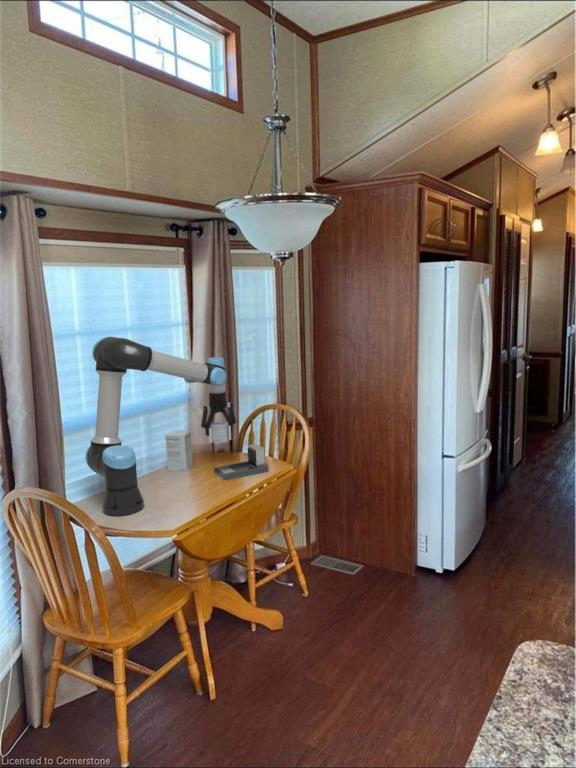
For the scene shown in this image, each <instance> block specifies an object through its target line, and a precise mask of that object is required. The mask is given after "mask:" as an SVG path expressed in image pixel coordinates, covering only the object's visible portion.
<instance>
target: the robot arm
mask: <svg viewBox="0 0 576 768" xmlns="http://www.w3.org/2000/svg"><path fill="white" fill-rule="evenodd" d="M92 357H93V360H94V361H95V372H96V373H97V374H98V375H99V376H98V389H97V390H98V391H97V392H98V394H97V403H96V405H97V406H96V407H97V408H96V422H95V433H94V434H95V435H94V437H93V438H91V440H90V446H89V447H88V448H87V450H86V452H85V457H84V458H85V463H86V465H87V466H88V468H90V470H92V472H94V473H96V474H99V475H100V476H102V477H104V484H105V495H104V498H103V503H102V512H103V514H104V515H106V516H111V517H123V516H129V515H132V514H135V513H138V512H139V511H142V510H143V509H144V507H145V500H144V497H143V496H142V493H141V491H140V488H139V485H138V473H137V472H138V471H137V458H136V457H137V456H136V454H135V450H134V449H133V448H132V447H130V446H128V445H122V440H121V438H120V437H119V430H120V429H119V428H120V417H121V416H120V414H121V401H122V400H121V399H122V384H123V376H124V375H126V374H127V372H128V370H132V371H133V370H134V371H140V372H146V371H152V372H156V373H160V374H164V375H168V376H174V377H177V378H182V379H183V380H184V381H185V383H186V384H194V383H200V384H206V385H208V392H209V393H208V399H209V401H208V404H207V405H202V410H203V411H202V417H201V424H200V426H201V428H203V429H204V430H205V435H206V436H207V442H208V443H210V444H212V443H213V442H212V439H211V429H210V428H209V427H210V425H211V422H213V419H214V417H215V415H216V414H218V413H222V415H223V417H224V419H225V422H228V431H229V440H228V441H231V440H232V433H233V426H234V424H236V423H237V419H236V416H235V412H234V408H233V406H234V403H233V402H227V395H226V394H227V393H226V389H227V388H226V381H227V378H228V377H227V372H226V371H225V370H226V366H225V360H224V358H223V357H213V356H212V357H209V358H207V359H206V360H207V361H206V363H200V362H197V361H193V360H190V359H187V358H182V357H179V356H178V357H177V356H174V355H171V354H167V353H164V352H158V351H156V350H153V348H152V347H150V346H146V345H144V344H141V343H138V342H135V341H134V340H132V339H131V340H130V339H129V338H125V337H117V336H116V337H115V336H106V337H102V338H100V339H99V340H97V341H96V342H95V344H94V345H93V347H92ZM226 407H227V408H228V412H227V410H226ZM209 409H210V412H209ZM208 413H209V415H208ZM228 413H229V415H228Z"/></svg>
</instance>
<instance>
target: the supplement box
mask: <svg viewBox="0 0 576 768" xmlns="http://www.w3.org/2000/svg"><path fill="white" fill-rule="evenodd" d="M191 433H192V432H191V430H190V429H189V430H186V429H184V430H183V429H182V430H179V429H175V430H174V429H173V430H171V431H170V432H168V433H167V434H166V435H164V437H165V439H164V440H165V449H166V460H167V461H166V463H167V471H169V472H172V471H173V472H175V471H178V472H187V471H188V470H190V468H191V467H192V466H193V465H194V464H193V463H194V462H193V461H194V460H193V449H192V434H191ZM186 470H187V471H186Z"/></svg>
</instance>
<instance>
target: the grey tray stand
mask: <svg viewBox="0 0 576 768" xmlns="http://www.w3.org/2000/svg"><path fill="white" fill-rule="evenodd" d="M247 446H248V447H247V459H248V460H246V461H241V462H235V463H230V464H226V465H220V466H216V467H213V473H215V475H216V474H217V475H218V476H219V477H218V476H217V475H216V476H217V477H218V478H220V477H221V478H222V479H221V478H220V479H221V480H223V481H224V480H226V481H229V480H228V479H231V480H234V479H233V478H236V479H239V478H238V477H240V478H243V476H245V477H249V475H250V476H254V475H259V474H264V473H267V472H269V466H268V465H267V464H265V463H266V461H265V460H266V459H265V447H263V446H261V445H259V444H257V443H254V444H249V445H247Z"/></svg>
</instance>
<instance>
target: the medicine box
mask: <svg viewBox="0 0 576 768" xmlns="http://www.w3.org/2000/svg"><path fill="white" fill-rule="evenodd" d="M228 425H229V424H228V422H227V421H212V422H211V425H210V427H209V428H210V429H211V439H212V443H228V442H229V441H230V440H229V431H228Z"/></svg>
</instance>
